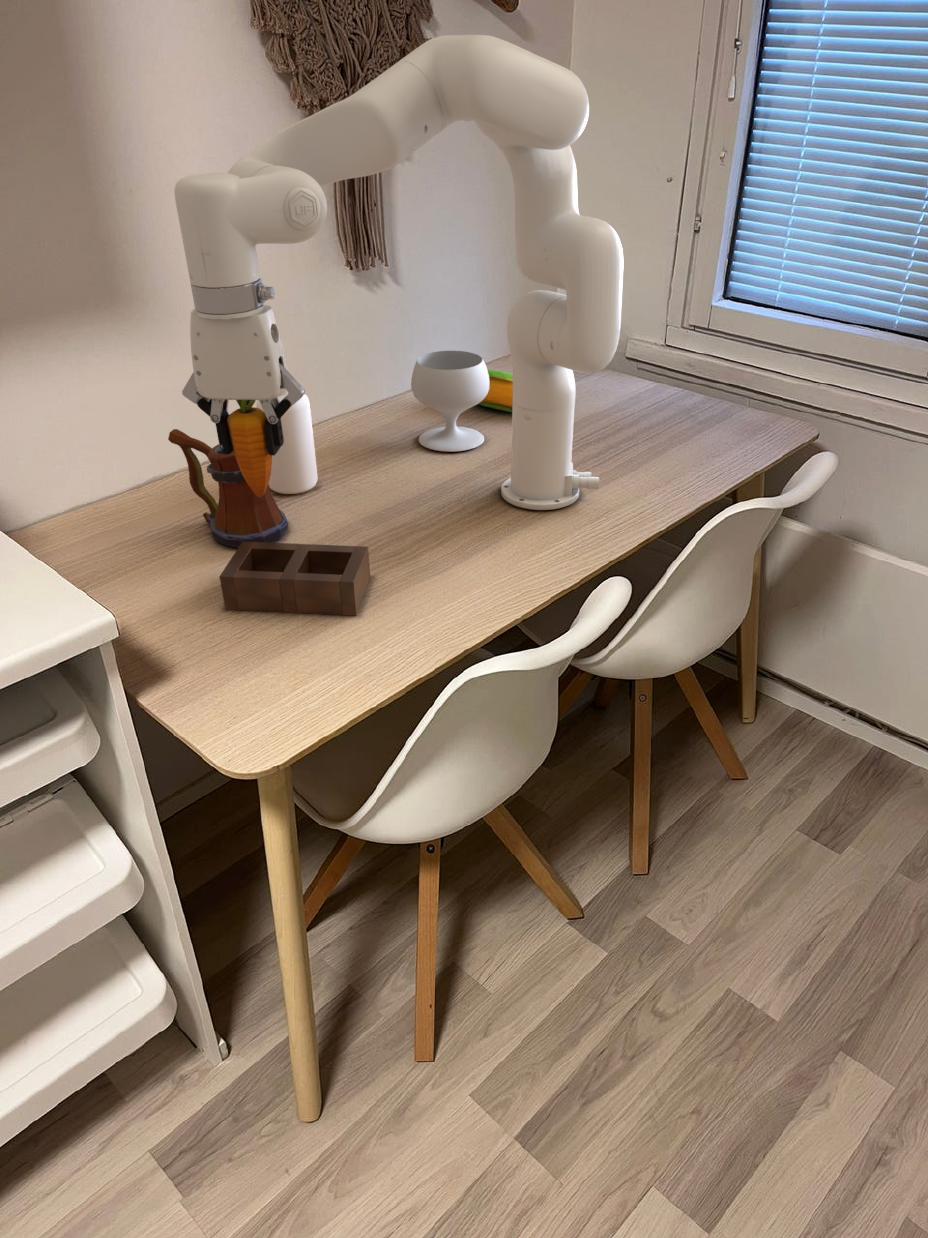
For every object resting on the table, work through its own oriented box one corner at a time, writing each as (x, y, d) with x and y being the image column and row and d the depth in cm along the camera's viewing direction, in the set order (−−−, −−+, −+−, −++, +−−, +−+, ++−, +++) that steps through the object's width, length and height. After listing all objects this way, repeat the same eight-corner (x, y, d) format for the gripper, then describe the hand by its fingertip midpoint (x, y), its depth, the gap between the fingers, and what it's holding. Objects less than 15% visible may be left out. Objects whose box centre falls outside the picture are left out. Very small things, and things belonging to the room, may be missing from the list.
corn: (474, 357, 183) (560, 374, 174) (475, 393, 188) (559, 411, 178) (453, 369, 178) (540, 387, 169) (455, 406, 183) (540, 425, 173)
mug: (162, 532, 136) (141, 438, 128) (212, 502, 145) (196, 412, 137) (257, 557, 129) (242, 459, 121) (304, 524, 138) (293, 431, 130)
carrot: (243, 489, 116) (223, 374, 107) (281, 487, 116) (265, 372, 108) (238, 506, 111) (217, 388, 103) (278, 504, 112) (260, 386, 104)
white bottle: (308, 498, 146) (295, 389, 136) (260, 494, 147) (244, 386, 137) (325, 477, 153) (314, 372, 143) (278, 474, 154) (265, 370, 144)
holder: (370, 578, 124) (368, 546, 121) (356, 615, 116) (353, 582, 113) (247, 573, 125) (242, 541, 123) (225, 609, 117) (219, 576, 115)
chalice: (487, 426, 172) (487, 347, 164) (491, 454, 160) (492, 371, 152) (414, 428, 172) (410, 349, 164) (412, 456, 160) (409, 372, 152)
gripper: (311, 289, 103) (327, 440, 113) (167, 289, 104) (196, 437, 114) (293, 306, 96) (313, 464, 106) (141, 306, 98) (174, 461, 108)
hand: (252, 449), depth 110 cm, fingers closed on carrot, 4 cm apart
